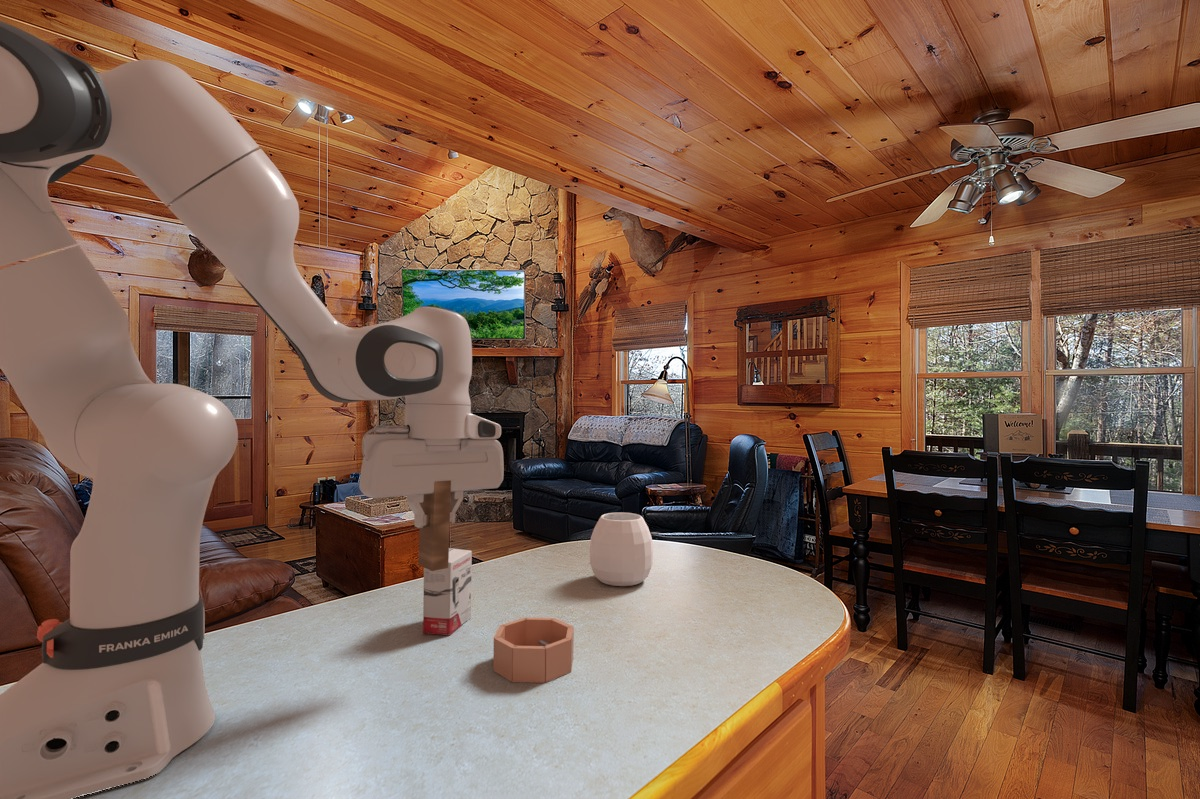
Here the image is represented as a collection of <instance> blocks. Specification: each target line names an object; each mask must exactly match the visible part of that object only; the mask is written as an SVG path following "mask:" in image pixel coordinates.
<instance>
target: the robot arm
mask: <svg viewBox="0 0 1200 799" xmlns="http://www.w3.org/2000/svg"><path fill="white" fill-rule="evenodd" d="M95 156H102V157H106V158H109V159H112V160H114V161H116V162H117V163H119V164H121V165H122V166H123V167H125V168H126V169H128V170H129V172H131V173H132V174H133V175H135V176H136V177H137V178H138V179H139V180H140V181H141V182H143V184H144V185H145V186H147V188H149V190H151V192H152V193H153V194H154V195H155V196H156V197H157V198H158V199H159V200H160V201H161V202H162V203H163V205H164V206H166V207H167V208H168V210H169V211H171V213H172V214H173V215H175V217H176V218H177V219H178V220H179V221H180V222H181V224H183V225H184V226H185V227H186V228H187V229H188V230H189V231H190V232H191V234H193V235H194V236H195V237H196V239H198V240H199V241H200V242H201V243H202V244H203V245H204V246H205V248H207V249H208V250H209V251H210V252H211V254H213V255H214V256H215V258H217V259H218V260H219V262H220V263H221V264H222V265H223V266H224V267H225V268H226V270H227V271H229V273H230V274H231V275H232V276H233V277H234V278H235V280H236V281H237V282H238V283H239V285H240V286H241V287H242V289H243V290H244V291H245V292H246V293H247V295H249V297H250V298H251V299H252V301H254V303H255V304H256V305H257V306H258V307H259V308H260V310H261V311H262V312H263V313H264V314H265V316H266V317H267V318H268V319H269V321H271V322H272V323H273V325H274V326H275V327H276V328H277V330H278V331H280V332H281V334H282V335H283V336H284V337H285V338H286V340H287V341H288V342H289V343H290V345H291V346H292V347H293V348H294V350H295V351H296V353H297V355H298V356H299V359H300V362H301V363H302V366H303V368H304V371H305V374H306V376H307V378H308V380H309V382H310V384H311V385H312V387H313V388H314V389H315V391H316V392H318V394H320V395H321V396H323V397H324V398H325V399H327V400H330V401H332V402H335V403H340V404H351V403H356V402H361V401H383V400H386V401H387V400H395V399H399V398H402V397H404V398H405V399H404V400H405V401H404V402H405V405H404V406H405V408H404V425H403V424H402V425H390V426H389V425H383V424H382V425H381V424H379V425H375V426H373V428H372V429H368V430H367V431H366V432H365V434H364V435H363V436H362V440H361V442H362V443H361V453H362V456H363V458H362V463H361V468H360V476H359V485H358V486H359V491H361V493H362V494H363V495H364V497H365V496H366V497H368V498H371V499H382V498H383V499H384V498H393V497H394V498H396V497H397V498H398V497H406V502H407V505H408V506H409V508H410V510H411V511H412V514H414V516H413V517H414V518H413V519H414V521H413V522H414V523H413V525H414V527H415V528H418V529H420V528H423V527H429V526H430V522H429V520H430V514H427V513H424V512H423V510H422V508H421V506H420V503H422V502H423V499H424V494H433V493H434V487H435V482H437V481H451V496H450V525H454V524H455V523H456V512H457V511H458V509H459V507H460V506H461V503H462V502H463V500H464V492H465V491H466V492H467V491H477V490H478V491H479V490H480V491H481V490H490V489H498V488H499V487H500V486H501V484H502V483H503V481H504V471H505V468H504V466H505V465H504V463H505V462H504V450H503V447H502V444H501V442H500V441H499V440H497V439H499V438H500V437H501V435H502V426H501V425H500V424H499V423H496V422H495V421H491V420H489V419H486V418H484V417H481V416H478V415H476V414H473V413H472V409H471V408H472V402H471V397H470V394H469V387H470V381H471V379H472V376H473V375H472V374H473V343H472V342H473V341H472V335H471V330H470V326H469V324H468V321H467V319H466V318H465V317H464V316H463V315H462V314H460V313H458V312H456V311H455V310H452V309H449V308H445V307H439V306H433V305H424V306H418V307H416V308H415V309H414V310H413V311H411V312H409V313H408V314H405V315H403V316H401V317H398V318H395V319H393V320H390V321H386V322H381V323H378V324H376V323H375V324H371V325H367V326H362V327H359V328H352V327H350V326H347V325H346V324H343V323H342V322H340V321H338V320H337V319H336V318H335V317H334V316H333V314H332V313H331V312H330V311H329V310H328V308H327V307H326V306H325V304H324V303H323V301H321V299H320V298H319V297H318V295H317V294H316V293H315V291H314V290H313V289H312V288H311V286H310V285H309V284H308V283H307V282H306V280H305V279H304V278H303V276H302V275H301V272H300V271H299V270H298V268H297V264H296V261H295V257H294V246H295V245H294V244H295V239H296V236H297V233H298V231H299V226H300V225H299V224H300V207H299V202H298V199H297V198H296V196H295V194H294V193H293V190H292V189H291V187H290V185H289V184H288V182H287V180H286V179H285V177H284V175H283V174H282V172H281V171H280V170H279V169H278V167H277V166H276V165H275V163H274V162H273V161H272V160H271V159H270V157H269V156H268V155H267V154H266V153H265V152H264V150H263V149H262V148H260V145H259V144H258V143H257V142H256V140H254V138H253V137H252V136H251V135H250V134H249V133H248V132H247V131H246V129H245V128H244V127H243V126H242V125H241V124H240V123H239V122H238V120H236V118H235V117H234V116H233V115H231V113H230V112H229V111H228V110H227V109H226V108H225V107H224V106H223V105H222V104H221V103H220V102H219V101H218V100H217V99H215V97H214V96H212V95H211V94H210V92H208V91H207V90H206V89H205V88H204V87H203V86H202V85H201V84H199V82H198V81H196V80H195V79H194V78H193V77H192V76H191V75H190V74H188V73H187V72H186V71H185V70H183V69H182V68H180V67H178V66H177V65H175V64H172V63H170V62H168V61H164V60H161V59H160V60H159V59H148V58H147V59H138V60H137V59H136V60H132V61H128V62H124V63H122V64H120V65H118V66H116V67H114V68H112V69H110V70H105V71H102V72H97V71H96V70H95V68H94V67H93V66H92V65H91V64H89V63H88V62H86V61H85V60H83V59H81V58H79V57H77V56H75V55H72V54H71V53H69V52H67V51H65V50H63V49H60V48H58V47H57V46H54V45H53V44H50V43H49V42H46V41H44V40H43V39H41V38H40V37H37V36H35V35H34V34H31V33H30V32H28V31H26V30H23V29H21V28H19V27H16V26H14V25H12V24H9V23H7V22H4V21H1V20H0V370H1V372H2V373H3V374H4V375H5V378H6V379H7V381H8V382H9V384H10V385H11V387H12V389H13V390H14V393H15V394H16V396H17V398H18V399H19V401H20V403H21V404H22V406H23V408H24V409H25V411H26V413H27V415H28V416H29V418H30V419H31V420H32V422H33V423H34V425H35V427H36V429H37V430H38V431H39V433H40V434H41V436H42V437H43V439H44V442H45V444H46V447H47V448H48V450H49V452H50V453H51V454H52V455H53V457H55V459H56V460H57V461H58V462H60V463H61V464H62V465H63V466H65V467H66V468H68V469H69V470H71V471H72V472H74V473H76V474H78V475H80V476H83V477H86V478H89V479H92V489H91V493H90V494H91V495H90V498H89V502H88V507H87V508H86V509H87V510H86V514H85V517H84V521H83V523H82V526H81V528H80V530H79V532H78V535H77V536H76V537H75V539H74V540H73V542H72V544H71V548H70V554H69V555H70V562H69V563H70V564H69V565H70V566H69V567H70V568H69V570H70V571H69V574H70V575H69V578H70V579H69V618H68V619H66V620H64V621H60V619H58V618H50V619H47V620H44V621H43V622H40V623H41V625H39V626H38V627H37V631H36V638H37V639H38V641H39V642H40V643H41V658H42V662H41V664H39V665H38V666H36V667H35V668H34V669H33V670H31V671H30V672H28V673H27V674H26V675H25V676H23V677H22V678H21V679H19V680H18V681H17V682H15V683H14V684H13V685H11V686H10V687H9V688H7V689H6V690H4V692H2V693H0V799H71V798H75V797H76V796H77V797H78V796H80V795H82V794H87V793H92V792H95V791H98V790H103V789H106V788H109V787H114V786H118V785H122V784H127V785H129V784H128V783H130V784H132V783H131V782H134V783H136V782H135V781H138V782H140V781H139V780H141V779H144V778H148V779H150V778H151V777H150V776H152V777H154V776H156V775H157V774H159V773H160V772H161V771H162V770H163V769H164V768H166V767H167V765H168V764H169V763H170V762H171V761H172V759H173V758H175V757H176V756H177V755H178V754H179V755H180V753H182V752H183V751H185V750H186V749H188V748H189V747H191V746H192V745H194V744H195V743H197V741H198V742H199V740H200V739H202V738H203V737H204V736H205V735H206V734H207V733H208V732H209V731H210V729H211V728H212V727H213V725H214V723H215V720H216V713H215V711H214V708H213V706H212V703H211V700H210V696H209V694H208V690H207V685H206V680H205V675H204V668H203V660H202V649H203V646H204V640H205V634H206V633H205V630H206V629H205V625H206V624H205V621H206V618H205V616H206V615H205V612H206V611H205V607H204V600H202V598H201V596H200V559H201V558H200V554H201V552H200V550H201V534H202V530H203V529H202V528H203V522H204V519H205V516H206V511H207V508H208V504H209V500H210V497H211V494H212V490H213V488H214V485H215V482H216V479H217V477H218V475H219V474H220V472H221V471H222V470H223V469H224V468H225V467H226V466H227V465H228V463H229V462H230V460H231V459H232V458H233V455H234V454H235V452H236V449H237V445H238V440H239V431H238V430H239V429H238V425H237V421H236V419H235V417H234V415H233V413H232V412H231V410H230V409H229V408H228V407H227V406H226V405H225V403H223V402H222V401H220V400H219V399H218V398H216V397H214V396H212V395H210V394H208V393H205V392H203V391H201V390H198V389H196V388H192V387H190V386H188V385H182V384H178V383H169V382H168V383H167V382H165V383H163V382H162V383H154V382H153V381H152V380H151V379H150V378H149V377H148V375H147V374H146V373H145V371H144V369H143V367H142V365H141V362H140V360H139V358H138V356H137V352H136V350H135V348H134V345H133V342H132V339H131V335H130V331H129V330H130V320H129V316H128V315H127V312H126V310H125V309H124V307H123V306H122V305H121V303H120V302H119V301H118V299H117V298H116V296H115V295H114V293H113V292H112V291H111V289H110V288H109V286H108V285H107V283H106V282H105V280H104V279H103V278H102V276H101V274H100V273H99V272H98V271H97V269H96V267H95V266H94V264H93V262H92V261H91V260H90V259H89V257H88V255H87V254H86V253H85V252H84V250H83V249H82V247H81V245H77V244H78V241H77V240H76V239H75V237H74V236H73V234H72V233H71V231H70V230H69V229H68V227H67V226H66V225H65V223H64V222H63V220H62V219H61V217H60V215H59V214H58V212H57V210H56V209H55V207H54V205H53V203H52V201H51V198H50V196H49V193H48V184H53V183H56V182H57V181H58V180H60V179H62V178H63V177H65V176H66V175H67V174H69V173H70V172H72V171H73V170H75V169H76V168H78V167H80V166H81V165H83V164H85V163H87V162H88V161H89V160H91V159H92V158H93V157H95ZM74 245H76V246H74ZM70 246H73V247H70ZM67 247H68V248H67ZM64 248H65V249H64ZM60 249H63V250H60ZM57 250H59V251H57ZM55 251H56V252H55ZM51 252H52V253H51ZM47 253H48V254H47ZM44 254H46V255H44ZM41 255H42V256H41ZM37 256H39V257H37ZM34 257H36V258H34ZM31 258H32V259H31ZM28 259H29V260H28ZM23 260H25V261H23ZM20 261H21V262H20ZM17 262H19V263H17ZM15 263H16V264H15ZM11 264H13V265H11ZM7 265H9V266H7ZM4 266H6V267H4ZM1 267H2V268H1ZM371 433H372V434H371ZM155 774H156V775H155ZM153 775H154V776H153ZM149 777H150V778H149ZM141 781H142V780H141Z"/></svg>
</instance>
